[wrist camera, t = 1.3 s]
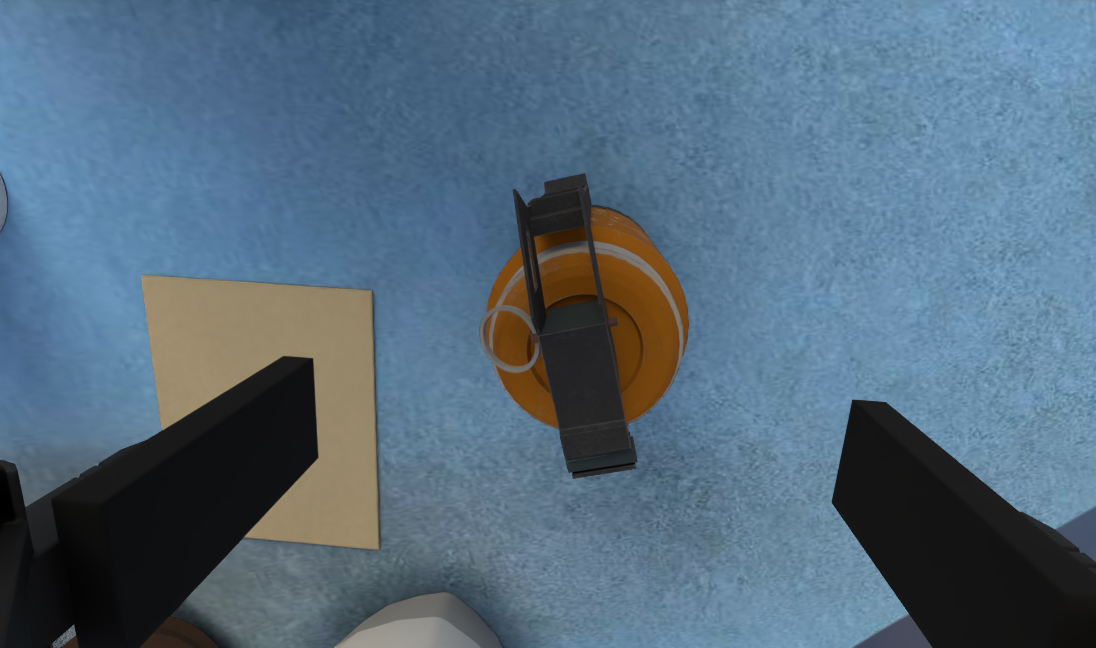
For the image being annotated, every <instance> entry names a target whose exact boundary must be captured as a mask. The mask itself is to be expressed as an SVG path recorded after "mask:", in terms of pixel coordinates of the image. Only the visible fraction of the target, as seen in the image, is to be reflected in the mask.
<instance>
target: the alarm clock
mask: <svg viewBox="0 0 1096 648" xmlns="http://www.w3.org/2000/svg"><path fill="white" fill-rule="evenodd" d="M60 648H79V647H78V641H77V636H75V637H74V638H72V639H71V640H69V641H68V642H67V643H66V644H65V645H63V646H62V647H60ZM140 648H218V646H217V645H216V644H215V643H214V642H213V641H212V640H211V639H210V638H209V637H208V636H207V635H206V634H204V633H203V632H202V631H201V630H199V629H198V628H196V627H194V626H193V625H191V624H189V623H187V622H185V621H182V620H180V619H177V618H174V617H170V616H169V617H168V618H167V619H166V620H165V622H164V623H163V624H162V625H161V626H160V627H159V628H158V629H157V630H156V631H155V632H154V633H153V634H152V635H151V636H150V637H149V638H148V640H147V641H146V642H145V643H144V644H143V645H142V646H141V647H140Z"/></svg>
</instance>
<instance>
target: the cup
mask: <svg viewBox="0 0 1096 648" xmlns="http://www.w3.org/2000/svg"><path fill="white" fill-rule="evenodd" d="M6 214H7V196H6V190H5V187H4V183H3V180H2V178H1V175H0V231H1V229H2V227H3V225H4V222H5V219H6Z"/></svg>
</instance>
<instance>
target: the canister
mask: <svg viewBox="0 0 1096 648" xmlns="http://www.w3.org/2000/svg"><path fill="white" fill-rule="evenodd" d="M544 190H545V194H544V195H543V196H541V197H540V198H535V199H533V200H531V201H530V202H529V203H528V206H526V204H525V203H524V201H523V200H522V198H521V197H520V195H519V194H518V192H517V191H516V189H514V190H513V195H514V202H515V209H516V216H517V223H518V231H519V238H520V245H521V247H520V248H519V249H518V250H517V252H516V253H515V254H514V255H513V256H512V258H511V259H510V260H509V261H508V263H507V264H506V265H505V267H504V268H503V269H502V271H501V272H500V274H499V276H498V278H497V279H496V281H495V283H494V285H493V288H492V291H491V294H490V297H489V300H488V305H487V311H486V314H485V315H484V317H483V318H482V320H481V323H480V328H479V337H480V342H481V345H482V348H483V350H484V352H485V353H486V355H487V357H488V358H489V359H490V360H491V361H492V364H493V367H494V370H495V373H496V375H497V377H498V379H499V381H500V383H501V385H502V387H503V388H504V390H505V391H506V392H507V394H508V395H509V396H510V398H511V399H512V400H513V401H514V402H515V403H516V404H517V405H518V406H519V407H520V408H521V409H522V410H523V411H525V412H526V413H528V414H529V415H530V416H532V417H533V418H535V419H537V420H539V421H540V422H542V423H544V424H546V425H549V426H552V427H555V428H558V429H559V433H560V439H561V443H562V448H563V452H564V456H565V459H566V464H567V469H568V472H569V473H570V472H573V473H572V476H573V479H575V478H581V477H587V476H594V475H600V474H606V473H613V472H619V471H625V470H632V469H636V465H635V462H637V457H636V451H635V446H634V441H633V437H630V433H629V432H628V428H627V424H629V423H632V422H633V421H635V420H637V419H638V418H640V417H642V416H644V415H645V414H646V413H647V412H649V411H650V410H651V409H652V408H653V407H655V406H656V405H657V404H658V402H659V401H660V400H661V399H662V398H663V397H664V396H665V394H666V393H667V391H668V390H669V388H670V387H671V385H672V384H673V382H674V379H675V377H676V375H677V372H678V370H679V367H680V363H681V359H682V357H683V355H684V351H685V347H686V343H687V340H688V328H689V320H688V308H687V304H686V300H685V296H684V293H683V290H682V288H681V286H680V283H679V281H678V279H677V277H676V276H675V274H674V273H673V271H672V270H671V268H670V266H669V265H668V264H667V262H666V261H665V259H664V258H663V256H662V255H661V254H660V252H659V251H658V249H657V248H656V247H655V245H654V244H653V242H652V241H651V240H650V238H649V237H648V235H647V234H646V233H645V231H644V230H643V229H642V228H641V227H640V226H639V225H638V224H637V223H636V222H635V221H633V220H632V219H631V218H629V217H628V216H626V215H624V214H623V213H621V212H619V211H616V210H614V209H611V208H608V207H603V206H597V205H591V199H590V194H589V190H588V185H587V180H586V175H585V173H584V174H579V175H575V176H570V177H566V178H561V179H557V180H552V181H548V182H544ZM486 335H487V337H486Z"/></svg>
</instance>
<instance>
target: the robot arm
mask: <svg viewBox="0 0 1096 648" xmlns="http://www.w3.org/2000/svg"><path fill="white" fill-rule="evenodd" d="M318 458H319V457H318V438H317V419H316V400H315V381H314V362H313V358H306V357H293V356H282V357H281V358H279V359H278V360H276V361H274V362H273V363H271V364H269V365H268V366H266V367H265V368H263V369H261V370H260V371H258V372H256V373H255V374H253V375H252V376H250V377H248V378H247V379H245V380H243V381H242V382H240V383H239V384H237V385H235V386H234V387H232V388H230V389H229V390H227V391H226V392H224V393H222V394H221V395H219V396H217V397H216V398H214V399H213V400H211V401H209V402H208V403H206V404H204V405H203V406H201V407H200V408H198V409H196V410H195V411H193V412H191V413H190V414H188V415H187V416H185V417H183V418H182V419H180V420H178V421H177V422H175V423H174V424H172V425H170V426H169V427H167V428H165V429H164V430H162V431H161V432H159V433H157V434H156V435H154V436H152V437H151V438H149V439H148V440H145V441H143V442H140V443H137V444H135V445H132V446H129V447H127V448H124V449H121V450H120V451H118V452H116V453H115V454H113V455H111V456H110V457H108V458H107V459H105V460H103V461H102V462H100V463H99V465H98V466H93V467H92V468H90V469H88V470H87V471H85V472H83V473H82V474H80V477H79V478H73V479H72V480H70V481H68V482H67V483H65V484H63V485H62V486H60V487H58V488H57V489H55V490H53V491H52V492H50V493H48V494H47V495H45V496H43V497H42V498H40V499H39V500H37V501H35V502H34V503H32V504H30V505H29V506H27V507H25V505H24V500H23V495H22V490H21V485H20V480H19V475H18V470H17V468H16V466H15V464H13V463H10V462H7V461H4V460H0V648H53V644H52V643H53V642H54V641H55V640H57V639H58V638H59V637H60V636H61V635H62V634H63V633H65V632H66V631H67V630H68V629H69V628H70V627H71V626H72V625H75V631H76V636H77V641H78V647H79V648H140V647H141V646H142V645H143V644H144V643H145V642H146V641H147V640H148V638H149V637H150V636H151V635H152V634H153V633H154V632H155V631H156V630H157V629H158V628H159V627H160V626H161V625H162V624H163V623H164V622H165V620H166V619H167V618H168V617H169V616H170V615H171V614H172V613H173V612H174V611H175V610H176V609H177V608H178V607H179V606H180V605H181V603H182V602H183V601H184V600H185V599H186V598H187V597H188V596H189V595H190V594H191V593H192V592H193V591H194V590H195V589H196V588H197V586H198V585H199V584H200V583H201V582H202V581H203V580H204V579H205V578H206V577H207V576H208V575H209V574H210V573H211V572H212V571H213V569H214V568H215V567H216V566H217V565H218V564H219V563H220V562H221V561H222V560H223V559H224V558H225V557H226V556H227V555H228V554H229V552H230V551H231V550H232V549H233V548H234V547H235V546H236V545H237V544H238V543H239V542H240V541H241V540H242V539H243V538H244V537H245V535H246V534H247V533H248V532H249V531H250V530H251V529H252V528H253V527H254V526H255V525H256V524H257V523H258V522H259V521H260V520H261V518H262V517H263V516H264V515H265V514H266V513H267V512H268V511H269V510H270V509H271V508H272V507H273V506H274V505H275V504H276V503H277V501H278V500H279V499H280V498H281V497H282V496H283V495H284V494H285V493H286V492H287V491H288V490H289V489H290V488H291V487H292V486H293V484H294V483H295V482H296V481H297V480H298V479H299V478H300V477H301V476H302V475H303V474H304V473H305V472H306V471H307V470H308V469H309V467H310V466H311V465H312V464H313V463H314V462H315V461H316V460H317V459H318ZM832 504H833V505H834V507H835V508H836V510H837V511H838V512H839V514H840V515H841V517H842V518H843V520H844V521H845V523H846V524H847V525H848V527H849V528H850V530H851V531H852V533H853V534H854V535H855V537H856V538H857V540H858V541H859V543H860V544H861V545H862V547H863V548H864V550H865V551H866V553H867V554H868V556H869V557H870V558H871V560H872V561H873V563H874V564H875V566H876V567H877V568H878V570H879V571H880V573H881V574H882V576H883V577H884V578H885V580H886V581H887V583H888V584H889V586H890V587H891V589H892V590H893V591H894V593H895V594H896V596H897V597H898V599H899V600H900V601H901V603H902V604H903V606H904V607H905V609H906V610H907V612H908V613H909V614H910V616H911V617H912V619H913V620H914V621H915V623H916V624H917V626H918V627H919V629H920V630H921V631H922V633H923V634H924V636H925V637H926V639H927V640H928V642H929V643H930V644H931V646H932V647H933V648H1096V562H1095V561H1094V560H1092V559H1091V558H1090V557H1089V556H1087V555H1086V554H1085V553H1080V551H1079V548H1077V547H1076V546H1075V545H1074V544H1072V543H1071V542H1070V541H1069V540H1067V539H1066V538H1065V537H1064V536H1062V535H1061V534H1060V533H1059V532H1057V531H1056V530H1055V529H1053V528H1051V527H1049V526H1047V525H1046V524H1044V523H1042V522H1040V521H1038V520H1036V519H1034V518H1033V517H1031V516H1029V515H1027V514H1025V513H1023V512H1019V511H1018V510H1016V509H1015V508H1014V507H1013V506H1012V505H1010V504H1009V503H1008V502H1007V501H1005V500H1004V499H1003V498H1002V497H1001V496H999V495H998V494H997V493H996V492H994V491H993V490H992V489H991V488H990V487H988V486H987V485H986V484H985V483H984V482H982V481H981V480H980V479H979V478H977V477H976V476H975V475H974V474H973V473H971V472H970V471H969V470H968V469H967V468H965V467H964V466H963V465H962V464H960V463H959V462H958V461H957V460H956V459H954V458H953V457H952V456H951V455H949V454H948V453H947V452H946V451H945V450H943V449H942V448H941V447H940V446H939V445H937V444H936V443H935V442H934V441H932V440H931V439H930V438H929V437H928V436H926V435H925V434H924V433H923V432H921V431H920V430H919V429H918V428H917V427H915V426H914V425H913V424H912V423H911V422H909V421H908V420H907V419H906V418H904V417H903V416H902V415H901V414H900V413H898V412H897V411H896V410H895V409H894V408H892V407H891V406H890V405H889V404H887V403H886V402H878V401H865V400H852V404H851V409H850V414H849V419H848V424H847V429H846V434H845V439H844V444H843V449H842V454H841V459H840V464H839V469H838V474H837V479H836V484H835V489H834V493H833V498H832Z"/></svg>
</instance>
